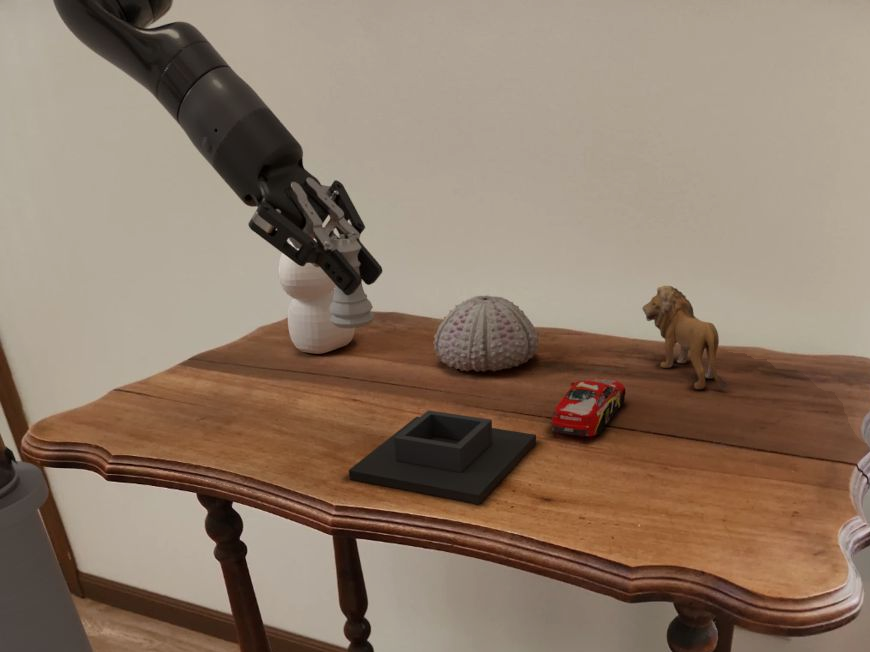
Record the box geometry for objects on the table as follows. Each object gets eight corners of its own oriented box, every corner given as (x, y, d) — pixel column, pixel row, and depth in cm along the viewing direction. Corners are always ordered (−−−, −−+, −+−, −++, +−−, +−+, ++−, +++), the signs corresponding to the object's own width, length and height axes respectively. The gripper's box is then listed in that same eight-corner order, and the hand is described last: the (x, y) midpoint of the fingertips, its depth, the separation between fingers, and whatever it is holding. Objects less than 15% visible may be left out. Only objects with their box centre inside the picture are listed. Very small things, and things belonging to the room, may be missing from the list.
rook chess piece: (373, 328, 79) (365, 241, 75) (328, 330, 79) (316, 243, 75) (376, 314, 83) (368, 230, 78) (332, 317, 83) (322, 233, 78)
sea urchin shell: (414, 363, 105) (410, 299, 101) (491, 338, 112) (490, 277, 107) (483, 388, 97) (481, 320, 92) (561, 359, 103) (563, 295, 99)
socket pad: (479, 504, 73) (478, 469, 71) (349, 479, 79) (344, 446, 77) (536, 443, 83) (536, 411, 81) (417, 424, 89) (414, 394, 87)
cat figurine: (274, 354, 111) (253, 237, 102) (331, 328, 119) (316, 218, 111) (325, 364, 107) (307, 242, 98) (380, 336, 115) (368, 222, 106)
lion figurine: (632, 359, 102) (638, 285, 97) (667, 352, 104) (675, 279, 99) (707, 397, 91) (719, 316, 86) (745, 387, 93) (759, 307, 88)
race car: (585, 394, 94) (586, 360, 92) (630, 400, 92) (633, 365, 89) (542, 437, 84) (543, 400, 82) (592, 445, 82) (594, 408, 80)
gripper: (208, 113, 68) (348, 274, 70) (303, 98, 78) (422, 239, 81) (174, 181, 73) (306, 330, 76) (268, 159, 83) (381, 290, 86)
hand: (365, 282), depth 78 cm, fingers closed on rook chess piece, 3 cm apart
